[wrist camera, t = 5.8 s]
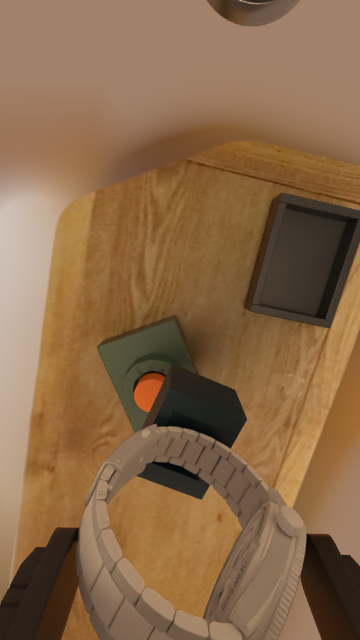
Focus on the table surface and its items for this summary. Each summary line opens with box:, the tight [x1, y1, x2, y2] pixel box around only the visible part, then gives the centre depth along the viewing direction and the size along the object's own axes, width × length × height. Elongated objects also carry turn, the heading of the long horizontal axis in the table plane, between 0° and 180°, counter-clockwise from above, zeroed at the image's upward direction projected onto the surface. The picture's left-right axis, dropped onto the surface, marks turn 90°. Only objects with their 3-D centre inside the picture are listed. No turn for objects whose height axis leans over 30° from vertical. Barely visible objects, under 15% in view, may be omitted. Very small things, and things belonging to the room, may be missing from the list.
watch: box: [75, 364, 306, 640], centre depth 12 cm, size 6×8×11 cm
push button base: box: [97, 315, 197, 433], centre depth 30 cm, size 12×9×4 cm
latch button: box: [134, 373, 165, 412], centre depth 28 cm, size 4×4×2 cm
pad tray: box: [245, 193, 360, 328], centre depth 28 cm, size 12×9×3 cm
